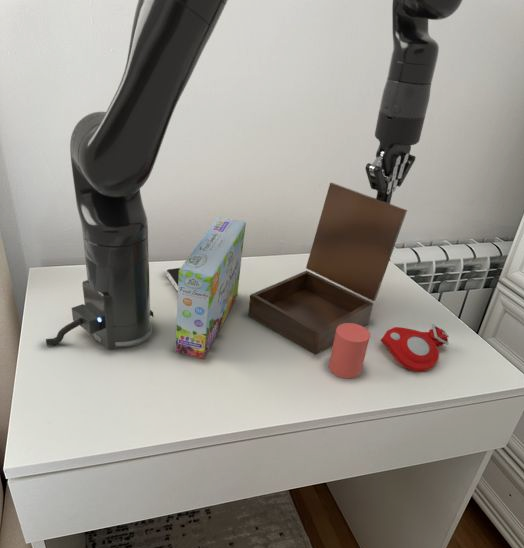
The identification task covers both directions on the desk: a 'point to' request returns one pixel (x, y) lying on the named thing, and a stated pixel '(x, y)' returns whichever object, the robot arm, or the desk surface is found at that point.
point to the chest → (308, 310)
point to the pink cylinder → (349, 350)
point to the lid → (355, 240)
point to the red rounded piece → (415, 346)
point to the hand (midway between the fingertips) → (380, 211)
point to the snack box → (208, 286)
